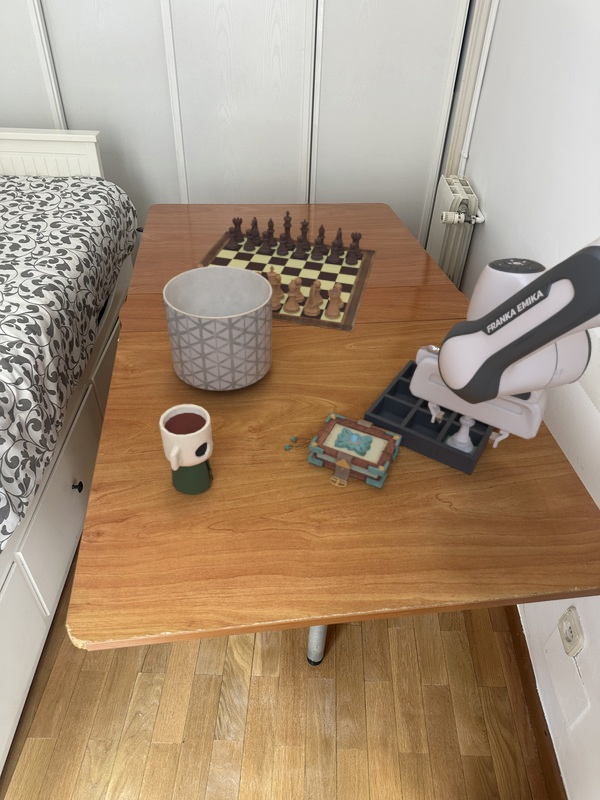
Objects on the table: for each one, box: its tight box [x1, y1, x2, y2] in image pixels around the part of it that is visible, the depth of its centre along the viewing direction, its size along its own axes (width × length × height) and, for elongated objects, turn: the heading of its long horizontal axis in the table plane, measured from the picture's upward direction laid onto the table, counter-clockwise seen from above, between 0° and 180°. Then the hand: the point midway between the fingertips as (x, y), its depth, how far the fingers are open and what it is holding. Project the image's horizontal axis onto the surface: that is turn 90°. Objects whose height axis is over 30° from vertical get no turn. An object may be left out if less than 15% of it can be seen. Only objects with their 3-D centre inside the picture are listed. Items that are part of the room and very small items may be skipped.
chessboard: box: [162, 210, 377, 333], centre depth 136 cm, size 45×45×10 cm
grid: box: [363, 359, 496, 476], centre depth 96 cm, size 20×20×4 cm
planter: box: [162, 266, 273, 392], centre depth 100 cm, size 19×19×18 cm
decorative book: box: [284, 412, 402, 489], centre depth 88 cm, size 13×18×5 cm
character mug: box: [158, 403, 214, 496], centre depth 80 cm, size 11×7×13 cm, turn 168°
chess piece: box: [446, 415, 475, 454], centre depth 87 cm, size 4×4×10 cm
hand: (463, 432), depth 88 cm, fingers open, 8 cm apart
